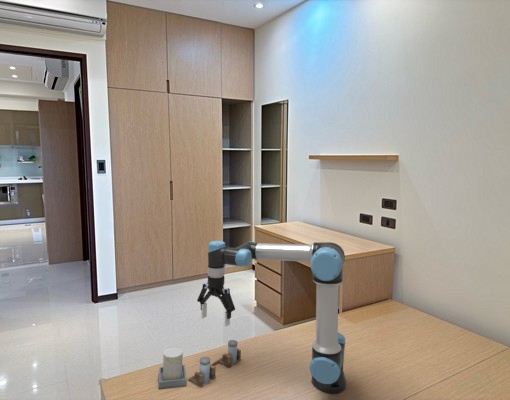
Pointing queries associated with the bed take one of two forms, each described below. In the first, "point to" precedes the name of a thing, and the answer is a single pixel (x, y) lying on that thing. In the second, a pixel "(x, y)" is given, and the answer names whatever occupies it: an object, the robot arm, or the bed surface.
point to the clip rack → (214, 368)
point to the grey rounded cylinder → (205, 369)
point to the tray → (172, 382)
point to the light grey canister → (172, 364)
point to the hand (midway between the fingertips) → (215, 321)
